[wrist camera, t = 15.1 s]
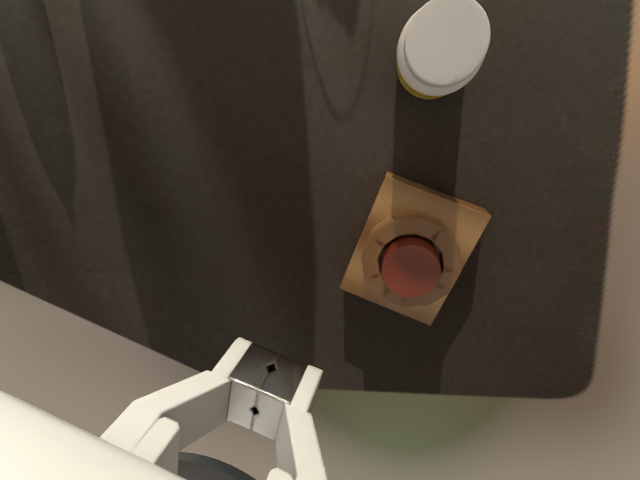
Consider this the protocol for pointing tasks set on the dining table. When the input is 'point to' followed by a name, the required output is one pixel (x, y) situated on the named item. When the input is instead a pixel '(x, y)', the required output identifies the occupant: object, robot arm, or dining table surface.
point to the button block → (421, 222)
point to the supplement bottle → (442, 47)
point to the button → (411, 267)
